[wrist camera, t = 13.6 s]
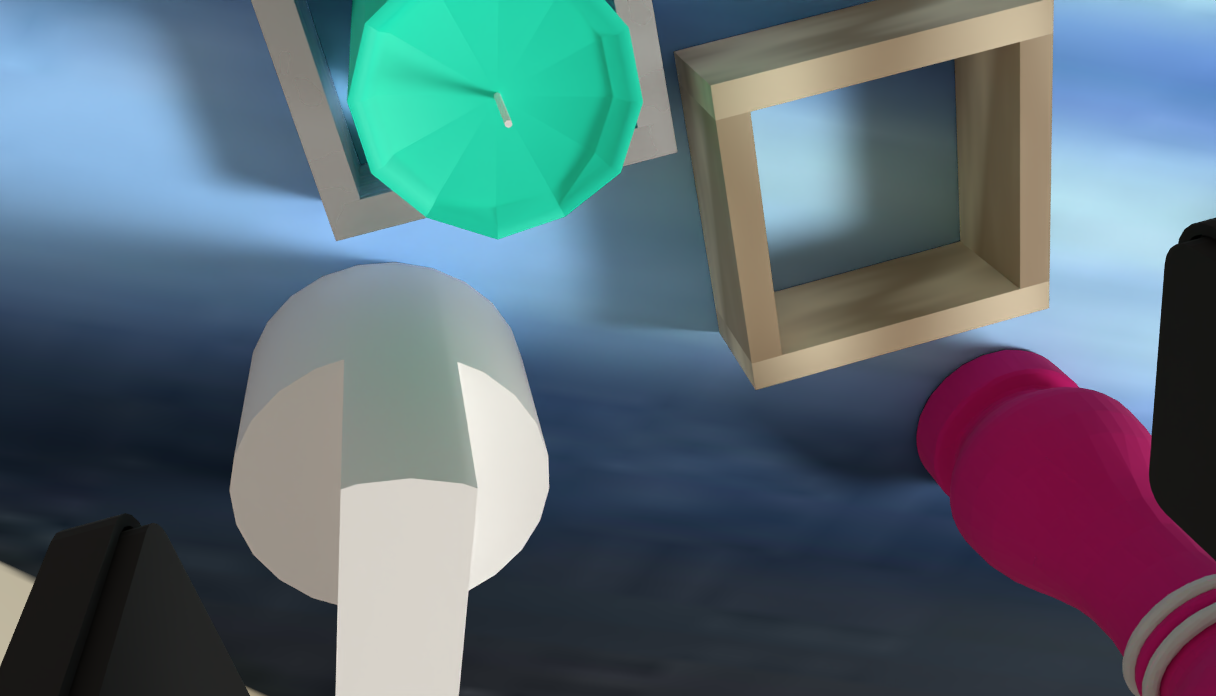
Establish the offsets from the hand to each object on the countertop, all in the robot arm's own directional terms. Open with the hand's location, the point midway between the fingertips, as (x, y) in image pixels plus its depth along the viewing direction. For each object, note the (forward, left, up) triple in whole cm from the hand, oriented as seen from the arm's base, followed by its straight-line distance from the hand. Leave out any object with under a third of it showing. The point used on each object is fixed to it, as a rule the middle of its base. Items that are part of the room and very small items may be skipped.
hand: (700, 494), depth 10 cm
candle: (0, 0, -25) cm, 25 cm away
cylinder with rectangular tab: (+6, +11, -25) cm, 28 cm away
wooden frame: (-11, +8, -24) cm, 28 cm away
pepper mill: (-16, +20, -25) cm, 35 cm away
